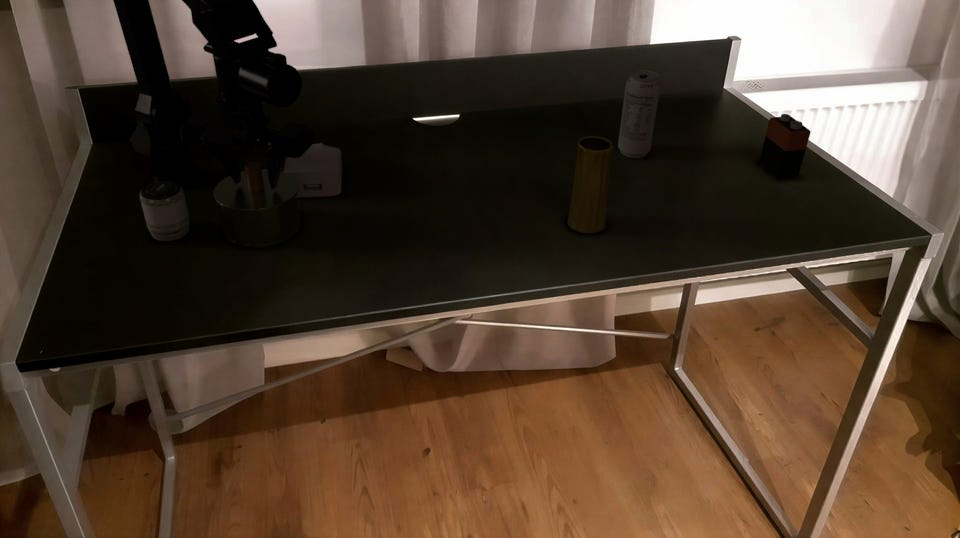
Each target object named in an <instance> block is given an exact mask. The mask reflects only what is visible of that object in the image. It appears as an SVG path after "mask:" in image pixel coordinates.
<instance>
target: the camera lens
mask: <svg viewBox="0 0 960 538" xmlns="http://www.w3.org/2000/svg"><path fill="white" fill-rule="evenodd" d="M138 198H139V201H140V205H141V208H142V212H143V216H144V220H145V224H146V227H147V229H148V231H149V233H150V234H151V237H152V238H153V239H154V240H157V241H160V242H171V241H177V240H180V239H182V238H184V237H186V236H187V235H188V233H190V228H191V227H190V226H191V222H190V221H191V220H190V214H189V209H188V205H187V201H186V197H185V191H184V188H183V187H181V186H180V185H179V184H178V183H175V182H172V181H158V182H154V183H151V184H149V185H146V186H144V187H142V189H141V191H140V193H139V197H138Z"/></svg>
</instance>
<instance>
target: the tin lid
mask: <svg viewBox="0 0 960 538" xmlns="http://www.w3.org/2000/svg"><path fill="white" fill-rule="evenodd" d="M243 165H244V166H243V167H244V170H243V171H241V181H240V182H239V183H238V184H235V183H234V181H233V179H232V178H231V176H230V175H229V176H227V177H225V178H223V179H222V180H220V181H219V182H218V183H217V184H216V186H214V189H213V199H214V201H215V203H216V204H217V205H218V204H219V205H220V206H221V207H223V208H225V209H228V210H231V211H236V212H261V211H266V210H271V209H274V208H277V207H280V206H282V205H284V204H286V203H288V202H289V201H291V200H292V199H293V198H294V197H295V196H296V195H297V193H298V191H299V184H298V181H297V180H296V178H295V177H293V176H292V175H290V174H288V173H286V172H284V170H281V173H280V176H279V180H278V183H277V186H276V187H275V188H274V189H271V187H270V183H269V176H268V168H262V163H261V162H260V161H256V160H252V161H247V162H245V164H243Z"/></svg>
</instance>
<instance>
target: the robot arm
mask: <svg viewBox="0 0 960 538" xmlns="http://www.w3.org/2000/svg"><path fill="white" fill-rule="evenodd" d="M112 1H113V5H114V9H115V11H116V15H117V18H118V21H119V25H120V28H121V32H122V35H123V38H124V42H125V45H126V48H127V52H128V54H129V58H130V63H131V66H132V70H133V72H134V76H135V79H136V82H137V86H138V90H139V95H138V98H137V102H136V106H135V109H134V114H135V118H136V124H137V125H136V127H135V129H134V131H133V133H132V134H131V137H130V139H129V141H130V142H131V145H132V148H133V149H134V152H136V153H138V154H140V155H142V156H144V157H145V160H146V166H147V169H148V174H149V177H148V178H147V179H146V180H145V181H144V183H145V185H146V186H147V185H149V184H151V183H154V182H158V181H172V182H175V183H178V184H179V185H180V186H181V187H182V188H183V187H184V186H185V185H186V184H187V183H189V182H190V181H191V180H192V179H193V178H194V177H195V176H197V175H198V174H199V171H198V170H199V169H195V168H194V165H193V159H192V155H191V154H190V153H189V151H188V144H190V145H197V146H199V145H200V148H201V149H202V150H204V151H207V153H208V155H209V156H210V157H213V158H216V157H217V158H218V159H219V160H220V162H221V164H222V165H223V167H224V168H225V170H226V172H227V173H228V175H229V176H231V178H232V179H233V181H234V183H235V184H238V183H239V182H240V181H241V172H242V168H241V167H242V166H241V155H242V154H243V151H245V150H246V151H252V150H253V148H254V147H255V145H256V143H257V142H259V143H260V142H261V143H267V146H268V149H267V150H266V151H265V152H264V153H262V155H261V157H262V158H263V159H264V160H265V161H266V167H267V168H266V169H268V176H269V183H270V187H271V189H274V188H275V187H276V186H277V183H278V180H279V176H280V173H281V171H283V166H284V164H285V161H286V157H290V158H298V157H301V156H302V155H303V154H304V153H305V152H306V151H307V150H308V149H309V148H310V147H311V146H312V144H315V143H316V138H315V130H314V129H313V127H311V125H309V124H304V123H296V122H295V123H294V122H285V124H284V125H283V126H282V127H280V128H278V129H273V128H272V129H271V128H268V125H269V124H270V123H271V122H272V121H271V115H269V114H266V112H265V111H266V110H265V104H264V102H265V103H267V104H270V105H272V106H274V107H276V108H281V109H285V108H288V107H290V106H291V105H294V103H295V102H296V101H297V100H298V99H299V96H300V94H301V91H302V87H303V85H302V84H303V82H302V76H301V75H300V72H299V71H298V69H297V68H296V67H294V66H293V65H291V64H289V63H288V61H287V60H288V59H287V56H286V55H285V54H282V53H279V52H278V53H276V52H273V51H270V50H271V49H274V48H277V47H278V43H277V41H276V39H275V37H274V35H273V34H274V32H273V30H272V29H271V27H270V26H269V24H268V23H267V22H266V20H265V18H264V17H263V15H262V13H261V11H260V9H259V8H258V5H257V4H256V3H255V1H254V0H181V1H182V2H183V3H184V4H185V6H186V7H187V8H188V9H189V10H190V14H191V22H192V24H193V25H194V27H195V28H196V29H197V30H198V31H199V32H200V34H201V35H202V36H203V38H204V39H205V40H206V42H207V43H205V44H204V46H203V51H204V52H206V53H208V54H211V55H212V59H213V64H214V71H215V75H216V82H217V86H218V92H219V93H218V94H219V96H218V97H217V98H216V99H215V105H214V107H215V112H211V111H203V110H198V111H196V112H195V113H193V112H192V107H191V103H190V101H189V99H187V98H183V97H182V96H181V95H180V94H179V93H178V92H177V90H175V89H174V88H173V84H172V81H171V77H170V74H169V69H168V65H167V63H166V60H165V55H164V51H163V48H162V43H161V41H160V37H159V34H158V30H157V26H156V23H155V17H154V15H153V11H152V7H151V4H150V3H151V2H150V0H112ZM254 35H256V36H257V37H254V38H251V39H247V40H244V41H240V42H238V40H241V39H244V38H249V37H251V36H254Z"/></svg>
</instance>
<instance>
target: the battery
mask: <svg viewBox="0 0 960 538" xmlns="http://www.w3.org/2000/svg"><path fill="white" fill-rule="evenodd" d="M810 136H811V130H810V129H809V128H807V127H806V126H805V125H803V122H802V121H800V120H797V119H795V118H794V117H792V116H791V115H790V114H788V113H782V114H781V115H780V116H774V117H772V116H771V117H770V118H769V120H768V124H767V128H766V133H765V137H764V140H763V145H762V148H761V153H760V156H759V164H760V165H761V166H762V167H763V168H765V169H766V170H767V171H768V172H769V173H770V174H772V176H774V177H775V178H776V179H778V180H781V179H792V178H798V177H799V175H800V172H801V168H802V164H803V161H804V159H805V155H806V150H807V147H808V142H809V140H810Z"/></svg>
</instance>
